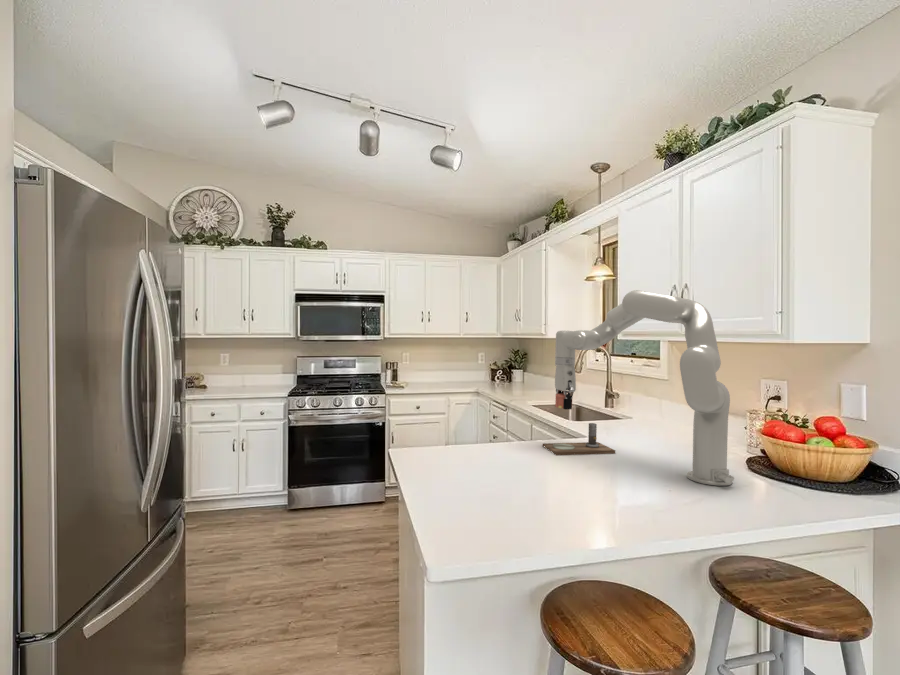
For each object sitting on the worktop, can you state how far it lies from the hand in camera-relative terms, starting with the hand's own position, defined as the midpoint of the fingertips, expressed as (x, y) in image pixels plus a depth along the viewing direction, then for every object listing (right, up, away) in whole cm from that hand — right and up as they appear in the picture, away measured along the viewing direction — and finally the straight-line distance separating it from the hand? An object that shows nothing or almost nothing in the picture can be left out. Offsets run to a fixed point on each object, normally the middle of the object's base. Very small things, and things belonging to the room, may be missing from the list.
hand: (563, 407), depth 183 cm
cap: (0, 0, 0) cm, 0 cm away
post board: (+6, -17, +1) cm, 18 cm away
